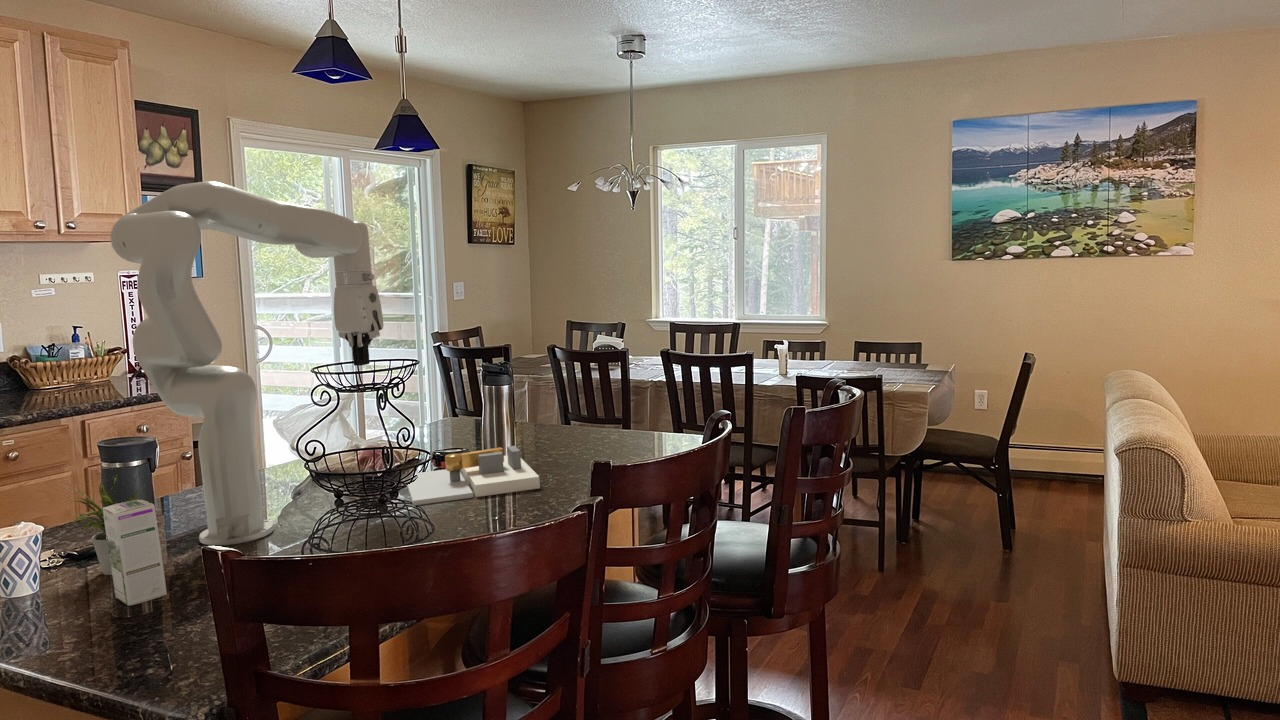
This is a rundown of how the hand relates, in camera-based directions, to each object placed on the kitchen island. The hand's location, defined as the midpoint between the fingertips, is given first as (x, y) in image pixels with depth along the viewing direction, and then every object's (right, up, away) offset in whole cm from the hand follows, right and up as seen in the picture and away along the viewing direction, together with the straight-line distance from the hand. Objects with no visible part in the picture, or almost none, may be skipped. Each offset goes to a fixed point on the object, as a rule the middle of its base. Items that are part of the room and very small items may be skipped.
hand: (361, 364), depth 192 cm
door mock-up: (+23, -26, +1) cm, 35 cm away
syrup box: (-16, -35, -57) cm, 69 cm away
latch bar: (+24, -22, +2) cm, 33 cm away
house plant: (-28, -34, -43) cm, 62 cm away
